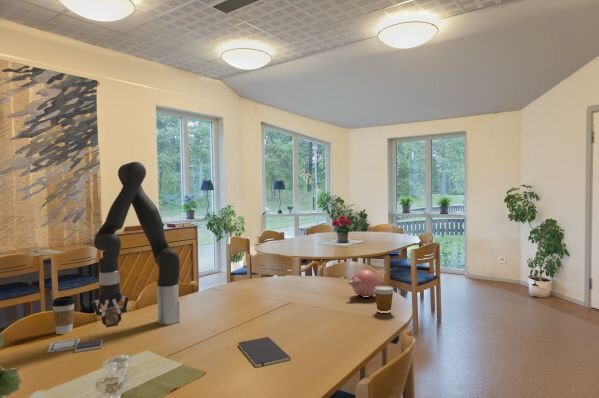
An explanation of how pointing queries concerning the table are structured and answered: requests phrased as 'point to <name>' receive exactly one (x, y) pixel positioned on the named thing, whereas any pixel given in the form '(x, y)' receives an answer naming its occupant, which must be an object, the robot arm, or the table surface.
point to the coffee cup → (63, 314)
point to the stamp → (111, 317)
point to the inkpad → (88, 345)
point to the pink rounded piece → (364, 283)
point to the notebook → (263, 351)
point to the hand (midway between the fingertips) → (111, 323)
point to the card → (63, 345)
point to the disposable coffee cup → (383, 297)
